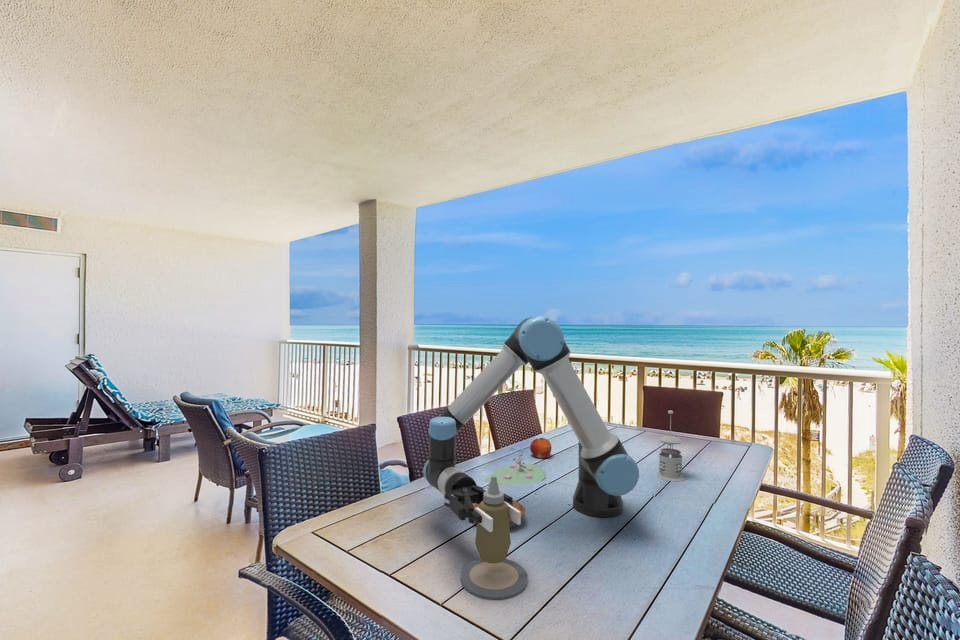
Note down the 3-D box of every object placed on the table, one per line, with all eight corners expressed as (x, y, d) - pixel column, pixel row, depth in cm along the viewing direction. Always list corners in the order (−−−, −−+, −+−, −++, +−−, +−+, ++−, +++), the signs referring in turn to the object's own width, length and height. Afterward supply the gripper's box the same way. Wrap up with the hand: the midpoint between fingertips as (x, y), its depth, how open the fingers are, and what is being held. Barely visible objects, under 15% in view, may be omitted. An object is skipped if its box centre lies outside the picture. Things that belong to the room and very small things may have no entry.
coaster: (534, 567, 103) (534, 564, 103) (517, 606, 89) (517, 601, 89) (474, 555, 108) (474, 552, 108) (449, 590, 94) (449, 586, 94)
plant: (513, 493, 150) (514, 467, 150) (471, 478, 164) (471, 454, 164) (556, 475, 167) (556, 452, 167) (515, 463, 182) (515, 441, 182)
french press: (656, 479, 163) (656, 411, 163) (656, 469, 173) (656, 406, 174) (685, 483, 159) (685, 413, 159) (684, 473, 170) (684, 408, 170)
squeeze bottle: (508, 569, 94) (509, 485, 94) (471, 564, 96) (472, 481, 96) (512, 550, 102) (513, 472, 102) (478, 546, 104) (479, 469, 104)
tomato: (553, 460, 185) (553, 440, 185) (531, 459, 185) (531, 440, 185) (549, 453, 194) (549, 435, 194) (529, 453, 194) (529, 435, 194)
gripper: (489, 494, 119) (541, 529, 99) (422, 508, 110) (465, 550, 90) (489, 466, 119) (542, 496, 99) (422, 478, 110) (465, 513, 90)
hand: (505, 521), depth 95 cm, fingers closed on squeeze bottle, 6 cm apart
